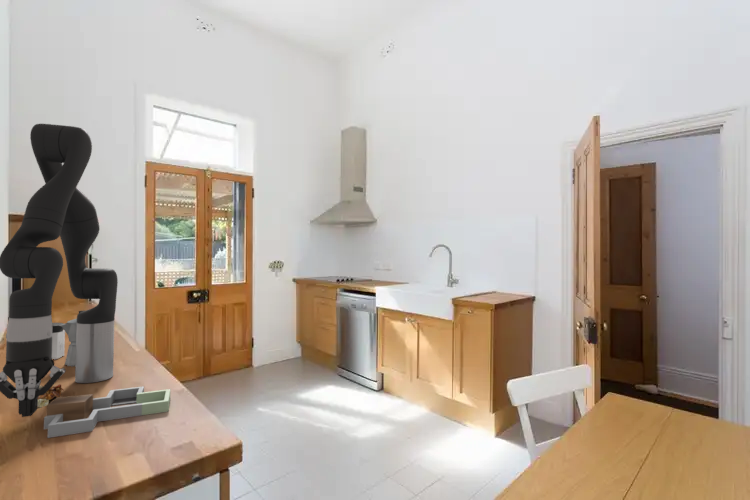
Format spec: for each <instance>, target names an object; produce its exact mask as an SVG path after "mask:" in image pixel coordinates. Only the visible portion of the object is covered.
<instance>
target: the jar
mask: <svg viewBox="0 0 750 500" xmlns="http://www.w3.org/2000/svg"><path fill="white" fill-rule="evenodd" d="M52 324H53V330H52V359H54V360H59V359H60V358H63V357H65V348H66V347H65V345H66V344H65V343H66V340H65V339H66V332H65V330H64V329H63V328H62V326H59V325H62V324H64V323H63V322H52ZM62 356H63V357H62Z"/></svg>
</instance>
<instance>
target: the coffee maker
mask: <svg viewBox="0 0 750 500" xmlns="http://www.w3.org/2000/svg"><path fill="white" fill-rule="evenodd" d="M83 311H84V310H78V314H79V313H80V312H83ZM59 326H62V328H63V329H64V330H65V334H66V335H67V337H68V342H70V344H69V345H68V349H67V352H66V357H65V362H64V366H66V365H67V367H69V366H71V367H76V329H77V318H74V319H71V320H67V322H66V323H63V324H62V325H59Z"/></svg>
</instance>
